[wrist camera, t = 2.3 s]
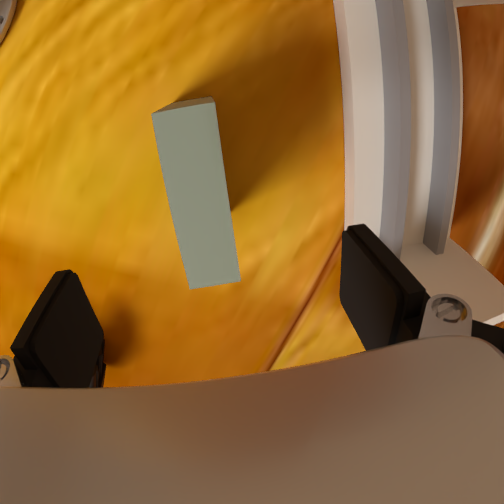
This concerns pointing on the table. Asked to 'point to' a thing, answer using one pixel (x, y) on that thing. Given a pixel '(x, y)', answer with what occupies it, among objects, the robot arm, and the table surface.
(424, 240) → the cabinet base
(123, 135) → the table surface
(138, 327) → the table surface
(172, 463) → the robot arm
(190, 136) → the door panel
